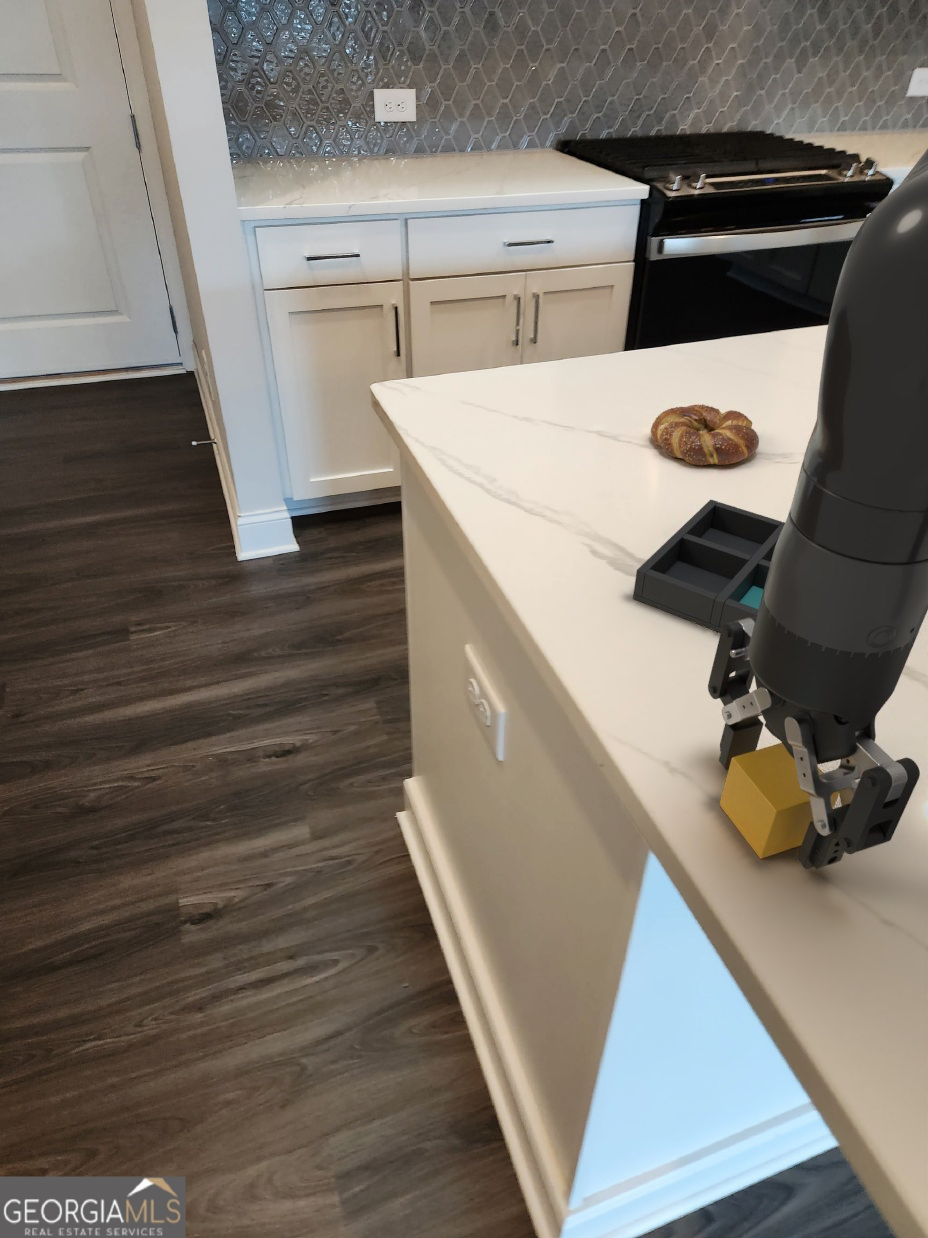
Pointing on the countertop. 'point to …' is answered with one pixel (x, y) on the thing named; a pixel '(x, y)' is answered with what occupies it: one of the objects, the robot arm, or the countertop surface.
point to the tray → (711, 566)
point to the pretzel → (705, 435)
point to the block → (768, 800)
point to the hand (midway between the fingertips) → (772, 809)
